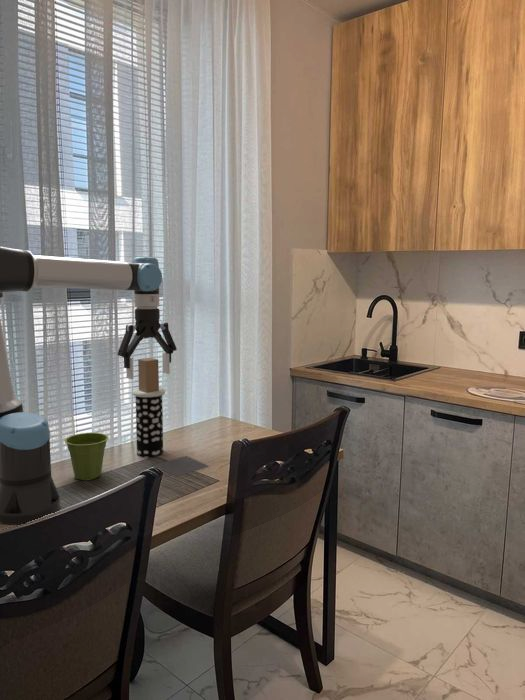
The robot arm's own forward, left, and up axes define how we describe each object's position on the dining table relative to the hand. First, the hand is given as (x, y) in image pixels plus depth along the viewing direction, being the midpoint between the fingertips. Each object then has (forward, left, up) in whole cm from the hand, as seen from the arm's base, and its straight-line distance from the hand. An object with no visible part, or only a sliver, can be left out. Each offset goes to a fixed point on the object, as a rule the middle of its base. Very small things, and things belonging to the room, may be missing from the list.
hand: (148, 375), depth 168 cm
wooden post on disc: (0, 0, -6) cm, 6 cm away
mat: (+1, -16, -26) cm, 30 cm away
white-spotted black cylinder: (0, 0, -26) cm, 26 cm away
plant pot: (-23, -4, -26) cm, 35 cm away
